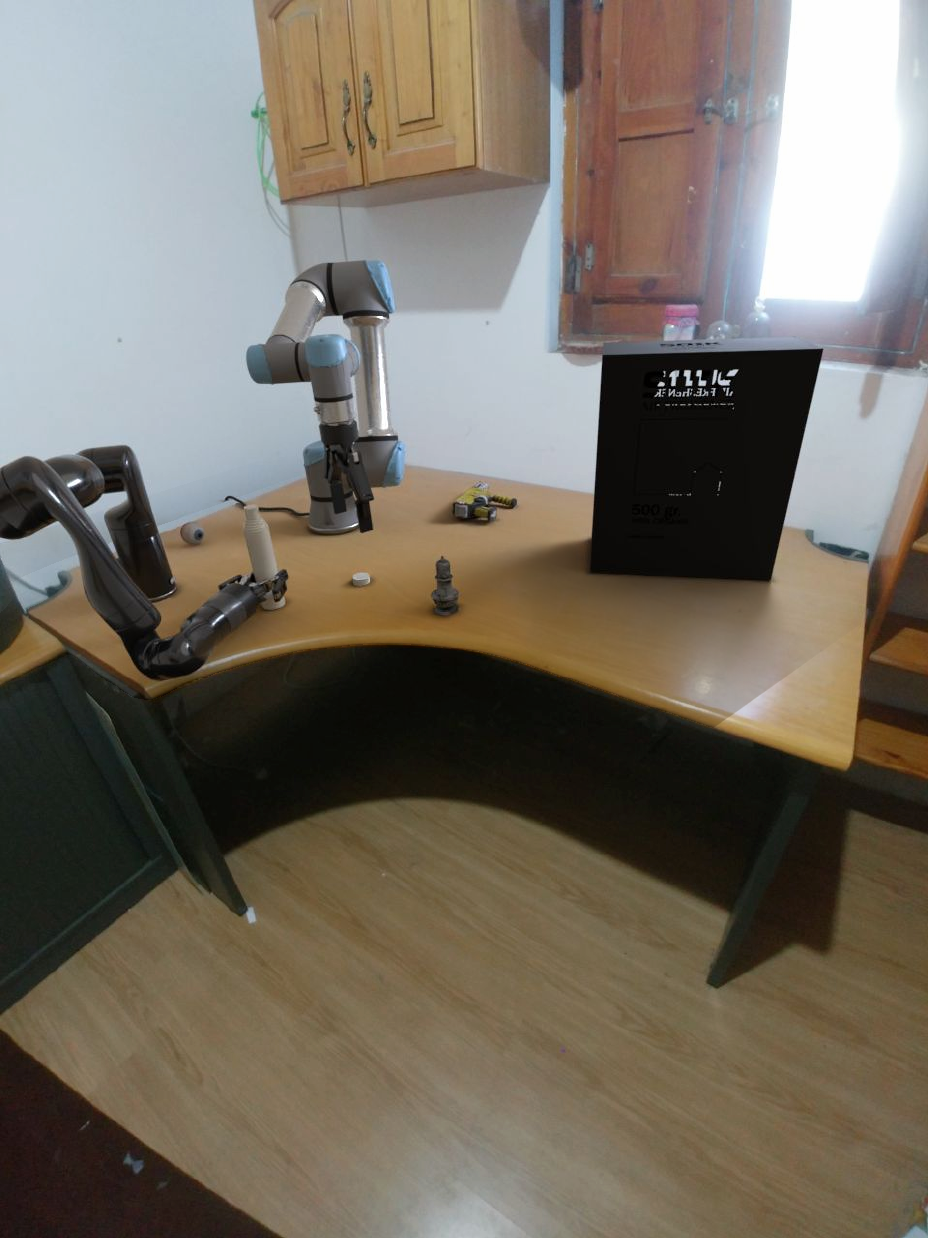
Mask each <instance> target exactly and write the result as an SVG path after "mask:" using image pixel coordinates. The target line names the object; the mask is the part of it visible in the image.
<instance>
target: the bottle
mask: <svg viewBox="0 0 928 1238" xmlns="http://www.w3.org/2000/svg"><path fill="white" fill-rule="evenodd" d="M246 505H247V506H245V507H244V506H243V511H244V515H245V518H244V523H243V526H242V533H243V536H244V539H245V544H246V548H247V553H248V555H249V561H250V564H251V568H252V572H254V576H255V580H256V583H257V582H259V581H261V580H263V579H265V578H266V579H270V578H272V577H274V576H275V575H276V574H277V573H278V572H280V570H279V567H278V563H277V558H276V554H275V550H274V544H273V541H272V537H271V536H272V535H271V532H270V531H271V530H270V527H269V525H268V522H266V520H265V519H264V518H263V516H261V514H260V510H258V509H259V508H258V507H259V505H257V504H255V503H254V504H253V503H252V504H246ZM271 585H272V587H273V586H275V585H274V582H273V583H272V584H271ZM264 586H265V584H264ZM265 589H266V587H265ZM286 602H287V601H286V598H285V595H284V596H283V597H282V599H281V600H280V601H279V602H274V599H267V600H266V601H264V602H262V603H260V605H261V607H262V609H263V610H268V611H273V610H278V609H280V608H282V607H284V606H285V605H286Z"/></svg>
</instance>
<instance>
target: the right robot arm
mask: <svg viewBox="0 0 928 1238" xmlns="http://www.w3.org/2000/svg"><path fill="white" fill-rule="evenodd" d="M284 302H285V304H284V306H283V308H282V310H281V313H280V315H279V317H278V318H277V320H276V322H275V324H274V326H273V328H272V330H271V332H270V334H269V336H268V338H267V340H266V342H265V343H258V344H252V345H249V346H248V347H247V349H246V352H245V361H246V367H247V371H248V373H249V376H250V378H251V380H252V381H253V382H255V384H258V385H272V386H273V385H281V384H297V383H310V385H311V389H312V390H311V391H312V395H313V400H314V405H315V407H313V411H314V413H316V417H317V421H318V422H319V425H318V430H319V437H320V440H316V441H314V442H312V443H309V444H308V445H306V446H305V447H304V448H303V450H302V457H303V467H304V471H305V477H306V481H307V486H308V492H309V498H310V507H309V512H297V511H295V510H294V509H293V508H290V507H284V506H281V507H280V506H278V507H277V506H275V507H274V506H273V507H262V506H258V508H259V509H258V510H259V511H286V512H291V513H292V514H293V515H295V516H297V517H308V521H307V522H308V523H307V524H308V528H309V529H308V530H310V531H311V532H312V533H314V534H317V535H323V536H324V535H325V536H327V535H329V536H331V535H339V534H340V535H341V534H345V533H350V532H353V531H355V530H357V529H359V533H360V534H364V533H368V532H371V531H374V525H373V518H372V511H371V504H370V502H372V501H374V500H375V496H374V493H373V491H372V489H374V488H376V489H377V488H383V489H386V488H391V487H397V486H399V485H401V484H402V481H403V478H404V475H405V474H404V472H405V466H406V446H405V442H404V441H402V440H399V434H398V433H397V431H395V430H394V429H393V428H392V415H391V401H390V388H389V377H388V376H389V375H388V362H387V361H388V360H387V350H386V336H385V329H386V327H387V326H388V325H389V323H390V322H391V321H390V315H393V313H395V311H396V307H395V306H396V304H395V303H396V302H395V297H394V291H393V287H392V283H391V278H390V275H389V271H388V269H387V266H386V264H385V263H384V262H383V261H382V260H378V259H375V260H368V259H362V260H350V261H339V262H338V261H337V262H335V261H334V262H321V263H318V264H315V265H313V266H311V267H308V268H307V269H305V270H304V271H303V272H302V273H300V274H299V275H298V276H296V277H295V278H294V279H293V281H292V282H291V283H290V284H289V286H288V287H287V290H286V292H285V296H284ZM340 316H341V317H342V323H343V324H344V325H345V327H347V328H348V329H349V336H350V340H349V339H348V338H345V337H344V336H343V335H341V334H339V333H325V334H324V333H323V334H316V335H312V334H313V332H314V329H315V326H316V325H317V324H318V323H319V322H320V321H321V320H322V319H323V318H325V317H340ZM352 377H353V380H354V392H355V398H354V395H353V394H354V393H353V387H352V379H351V378H352ZM355 402H356V405H355ZM356 418H357V420H355V419H356ZM229 499H231V500H234V501H235V502H237V503H239V504H241V506H242V507H243V508H244V507H245V506H247V505H248V504H246V503H245V502H243V500H241V499H239V498H237V497H235V496H233V495H227V496H225V498H224V501H228V500H229Z"/></svg>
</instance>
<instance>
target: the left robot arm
mask: <svg viewBox="0 0 928 1238" xmlns="http://www.w3.org/2000/svg"><path fill="white" fill-rule="evenodd" d="M137 457H138V456H137V455H136V453H135V450H133V449H132V447H131V446H129V445H127V444H114V445H105V446H96V447H88V448H83V449H82V450H80V451H78V452H76V453H74V454H61V455H58V456H53V457H49V458H47V459H44V460H42V459H40V458H38V457H37V456H32V455H23V456H21V457H19V458H17V459H15V460H12V461H10V462H8V463H6V464H5V465H3V466H1V467H0V539H3V540H11V541H14V540H15V541H16V540H22V539H24V538H28V537H30V536H32V535H35V533H37V532H39V531H42V530H43V529H45V528H47V527H49V526H50V525H52V524H54V523H56V522H59V524H60V525H61V526H62V527H63V528H64V530H65V531H66V532H67V534H68V535H69V537H70V538H71V541H72V543H73V544H74V546H75V549H76V553H77V556H78V557H77V558H78V561H79V567H80V572H81V580H82V586H83V590H84V594H85V597H86V599H87V601H88V603H89V605H90V607H92V609H93V610H94V611H95V613H96V614H97V615H98V616H99V617H100V618H101V619H102V620H103V621H104V622H105V623H106V625H108V626H109V627H110V628H111V630H112V631H113V632H114V633H115V634H116V635H118V637H119V639H120V640H121V642H122V645H123V647H124V649H125V650H126V652H127V654H128V656H129V657H130V660H131V661H132V663H133V666H135V668H136V669H137V671H138V672H140V673H141V675H143V676H145V677H146V678H147V679H149V680H151V681H154V682H164V681H170V680H174V679H178V678H183V677H187V676H191V675H192V674H194V673H195V672H197V671H199V670H200V669H201V668H202V667H204V665H205V664H206V663H207V661H208V660H209V658H210V656H211V655H212V653H213V652H214V650H215V648H216V647H218V645H219V644H221V643H222V642H223V641H224V640H226V638H227V637H228V636H230V635H231V634H233V633H235V632H236V631H238V630H239V629H240V627H242V626H243V625H244V624H245V623H246V622H247V621H249V620H250V619H251V618H252V617H253V616H254V615H255V614H256V612H257V611H258V608H259V606H260V605H261V603H262V602H264V601H266V600H267V599H274V602H279V601H280V600H281V599H282V597H283V596H284V597H285V594H286V592H287V591H288V586H287V581H288V580H289V574H288V573H289V572H288V571H287V569H285V568H282V569H281V570H279V572H278V573H277V574H276V575H275V576H274V577H272V578H270V579H266V578H265V579H263V580H261V581H259V582H257V583H256V580H255V576H254V572H253V571H252V572H251V573H247V574H245V575H244V576H243V575H242V574H237V575H235V576H233V577H231V578H229V579H228V580H226V581H224V582H222V583H220V584H218V585H217V587H218V591H217V592H216V593H215V594H214V595H213V596H211V597H210V598H209V599H207V600H206V601H205V602H204V603H203V604H202V606H201V607H200V608H198V609H196V611H194V612H193V613H192V614H190V615H189V616H188V617H187V618H185V620H183V622H182V623H181V624H180V625H181V626H180V628H179V632H178V633H176V634H174V635H171V636H167V637H161V636H160V635H159V634H158V632H157V630H156V629H158V627H159V626H160V625H161V622H162V614H161V612H160V611H159V609H158V607H156V606H155V604H154V603H153V602H158V601H161V600H165V599H167V598H168V597H171V596H172V595H174V594H176V592H177V591H178V586H177V585H178V584H177V583H176V577H175V575H174V574H173V572H172V569H171V565H170V563H169V559H168V557H167V553H166V549H165V546H164V544H163V540H162V539H161V538H162V537H161V535H160V531H159V528H158V525H157V523H156V520H155V517H154V514H153V510H152V507H151V506H152V505H151V503H150V498H149V496H148V493H147V489H146V486H145V481H144V478H143V474H142V469H141V466H140V463H139V460H138V458H137ZM116 493H126V499H124V501H122V502H121V503H119V504H117V505H114V506H112V507H110V508H109V509H108V510H106V511H105V513H103V519H104V523H105V526H106V528H107V531H108V533H109V536H110V538H111V541H112V544H113V548H114V549H115V552H116V555H117V557H116V556H115V554H114V553H113V551H112V550H111V548H110V546H109V545H108V543H107V542H106V540H105V539H104V537H103V536H102V534H101V532H100V531H99V529H98V528H97V526H96V525H95V523H94V522H93V520H92V519H91V517H90V516H89V515H88V513H87V511H86V510H85V509H86V508H89V507H90V506H93V505H94V504H95V503H96V502H98V501H99V500H100V499H101V498H102V496H103V495H107V494H116ZM273 582H274V585H275V586H273V587H272V585H271V584H272V583H273ZM264 584H265V586H264ZM265 587H266V589H265Z"/></svg>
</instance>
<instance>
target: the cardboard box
mask: <svg viewBox="0 0 928 1238" xmlns="http://www.w3.org/2000/svg"><path fill="white" fill-rule="evenodd" d="M601 353H602V355H601V371H600V388H599V389H600V390H599V405H598V423H597V439H596V454H595V455H596V456H595V472H594V473H595V474H594V487H593V488H594V491H593V505H592V506H593V509H592V526H591V540H590V541H591V543H590V559H589V574H614V575H637V576H638V575H641V576H660V577H663V576H664V577H686V578H708V579H709V578H710V579H730V580H731V579H733V580H735V579H736V580H754V581H755V580H756V581H757V580H758V581H772V577H773V573H774V569H775V565H776V560H777V557H778V556H777V555H778V551H779V548H780V543H781V537H782V534H783V529H784V526H785V520H786V515H787V511H788V507H789V502H790V499H791V495H792V489H793V486H794V481H795V476H796V472H797V467H798V464H799V459H800V454H801V451H802V445H803V441H804V436H805V433H806V428H807V424H808V419H809V415H810V412H811V411H810V410H811V406H812V403H813V397H814V392H815V388H816V384H817V380H818V376H819V371H820V366H821V361H822V359H823V358H822V357H823V353H824V347H821V346H818V345H816V344H813V343H811V342H808V341H805V340H804V339H801V338H798V337H796V336H771V337H769V336H768V337H766V336H765V337H737V338H708V339H707V338H706V339H679V340H678V339H675V340H673V339H672V340H649V341H648V340H645V341H617V342H616V341H615V342H614V341H613V342H603V343H602V352H601ZM736 370H737V371H736ZM677 371H678V375H677V376H676V377H675V382H674V383H675V385H672V383H673V376H671V374H672V373H674V372H677ZM685 371H689V372H690V374H689V382H691V385H687V379H688V377H687V375H685ZM699 371H701V373H700V375H698V372H699ZM715 371H716V375H715ZM733 371H736V373H734V375H729V373H730V372H733ZM714 375H715V376H716V377H715V380H714ZM719 377H720V378H719ZM700 381H701V382H705V385H700ZM713 381H715V382H714V383H713ZM719 381H729V382H728V384H725V385H724V384H720V383H719ZM660 383H663V384H664V385H660Z"/></svg>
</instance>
